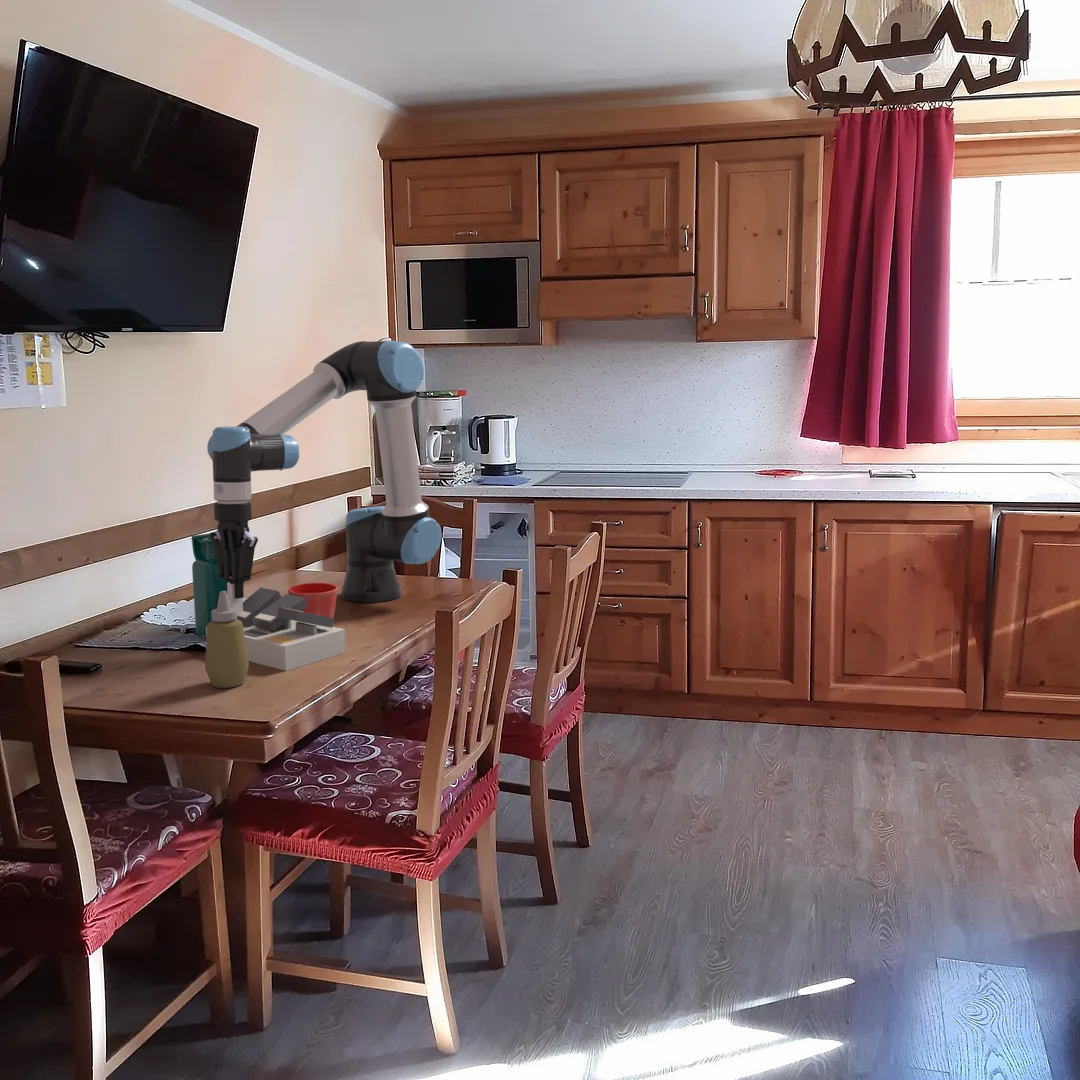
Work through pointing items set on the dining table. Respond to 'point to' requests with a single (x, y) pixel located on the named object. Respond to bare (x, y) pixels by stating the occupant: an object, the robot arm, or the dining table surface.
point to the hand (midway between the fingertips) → (235, 612)
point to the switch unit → (293, 644)
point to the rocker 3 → (305, 617)
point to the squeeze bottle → (225, 646)
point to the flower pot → (317, 597)
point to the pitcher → (205, 581)
